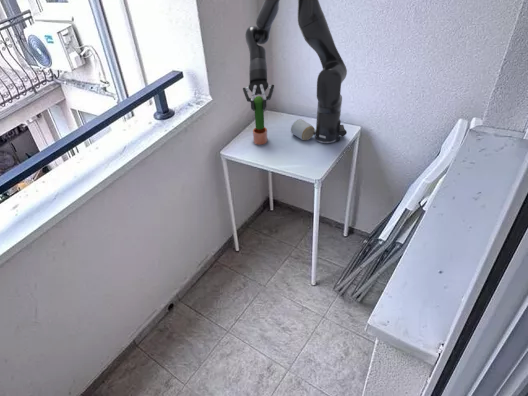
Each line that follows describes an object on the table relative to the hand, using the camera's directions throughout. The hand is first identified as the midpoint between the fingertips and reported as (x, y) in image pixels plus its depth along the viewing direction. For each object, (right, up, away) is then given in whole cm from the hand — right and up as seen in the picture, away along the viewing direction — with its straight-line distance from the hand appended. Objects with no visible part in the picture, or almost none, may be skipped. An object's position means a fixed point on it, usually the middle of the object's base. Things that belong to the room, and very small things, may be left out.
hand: (258, 109), depth 156 cm
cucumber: (+2, -6, +8) cm, 10 cm away
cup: (+4, -12, +13) cm, 18 cm away
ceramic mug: (+23, -10, +9) cm, 27 cm away
